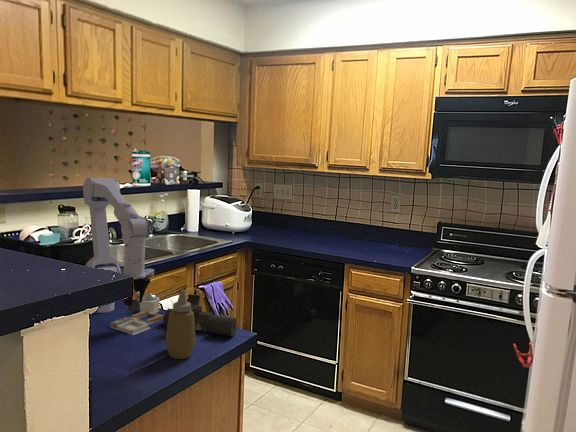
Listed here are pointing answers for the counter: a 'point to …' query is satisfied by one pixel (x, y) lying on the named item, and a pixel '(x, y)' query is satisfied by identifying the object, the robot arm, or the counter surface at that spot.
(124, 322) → the cradle
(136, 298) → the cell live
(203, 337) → the counter surface
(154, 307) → the cup
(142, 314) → the tan square tray
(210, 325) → the laser sight
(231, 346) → the counter surface
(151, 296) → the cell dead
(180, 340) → the squeeze bottle
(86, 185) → the robot arm
